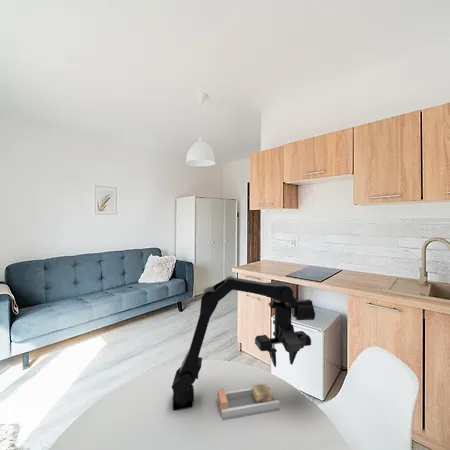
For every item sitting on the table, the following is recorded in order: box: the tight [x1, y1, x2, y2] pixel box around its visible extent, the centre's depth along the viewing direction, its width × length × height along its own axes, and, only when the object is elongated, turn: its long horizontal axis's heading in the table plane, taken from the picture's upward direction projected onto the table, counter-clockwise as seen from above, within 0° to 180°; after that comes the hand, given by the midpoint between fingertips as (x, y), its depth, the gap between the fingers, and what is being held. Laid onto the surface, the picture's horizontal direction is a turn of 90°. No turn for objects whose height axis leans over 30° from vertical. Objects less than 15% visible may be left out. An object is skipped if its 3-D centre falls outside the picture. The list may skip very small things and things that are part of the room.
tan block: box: [251, 383, 272, 404], centre depth 81 cm, size 5×5×4 cm
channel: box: [216, 384, 281, 421], centre depth 80 cm, size 19×10×5 cm, turn 103°
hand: (283, 365), depth 83 cm, fingers open, 6 cm apart
